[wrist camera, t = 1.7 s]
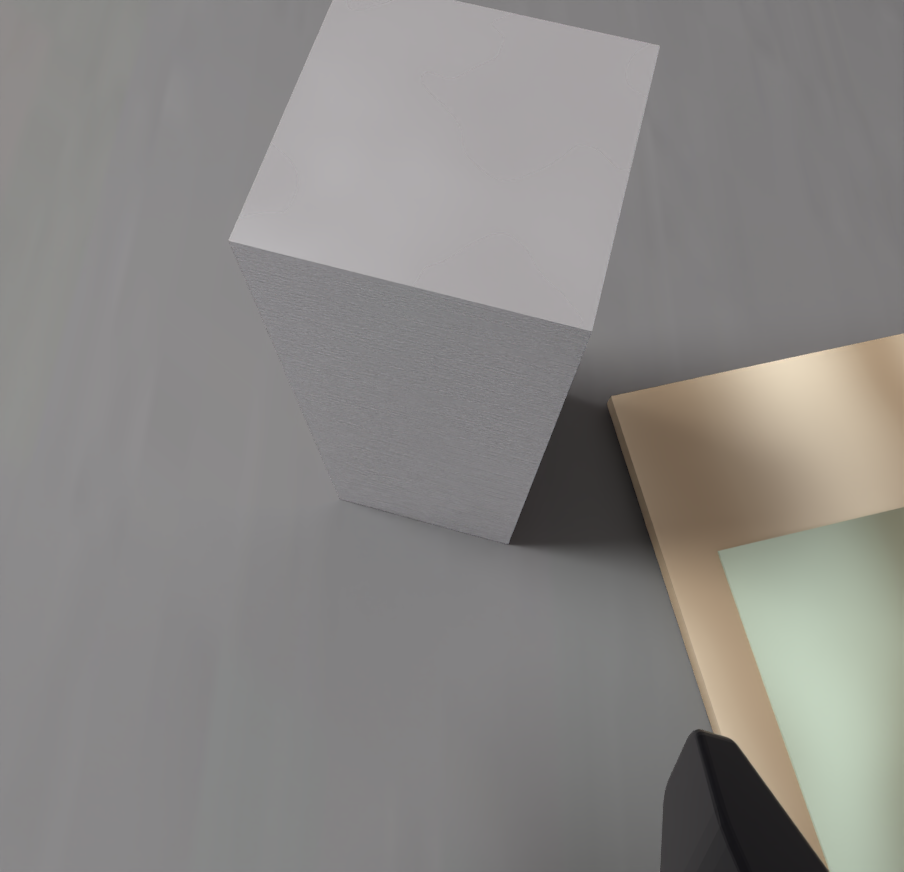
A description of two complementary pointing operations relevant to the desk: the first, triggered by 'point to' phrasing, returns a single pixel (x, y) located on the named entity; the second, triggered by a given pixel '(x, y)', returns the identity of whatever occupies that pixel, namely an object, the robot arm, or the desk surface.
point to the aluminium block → (441, 244)
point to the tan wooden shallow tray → (791, 575)
